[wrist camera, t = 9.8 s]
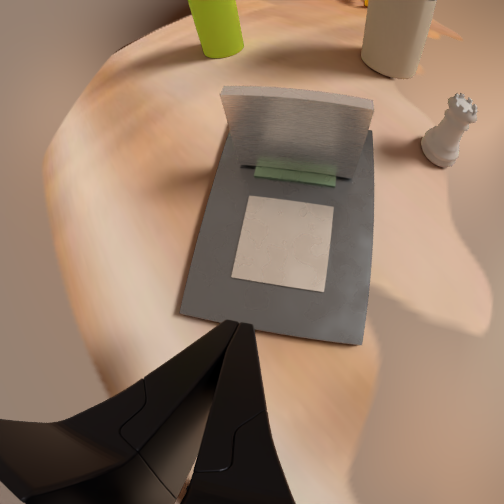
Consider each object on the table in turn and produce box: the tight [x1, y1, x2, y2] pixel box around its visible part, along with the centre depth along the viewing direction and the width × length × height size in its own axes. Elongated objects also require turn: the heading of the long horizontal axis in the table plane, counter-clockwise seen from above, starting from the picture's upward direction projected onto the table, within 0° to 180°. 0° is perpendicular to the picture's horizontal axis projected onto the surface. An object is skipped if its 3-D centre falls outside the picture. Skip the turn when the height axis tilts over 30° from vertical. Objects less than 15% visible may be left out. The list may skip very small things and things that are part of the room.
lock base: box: [180, 130, 374, 345], centre depth 22 cm, size 20×14×6 cm
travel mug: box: [361, 0, 437, 79], centre depth 21 cm, size 8×8×18 cm
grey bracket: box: [220, 86, 374, 179], centre depth 21 cm, size 6×10×8 cm, turn 79°
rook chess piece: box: [421, 93, 477, 167], centre depth 21 cm, size 4×4×8 cm
